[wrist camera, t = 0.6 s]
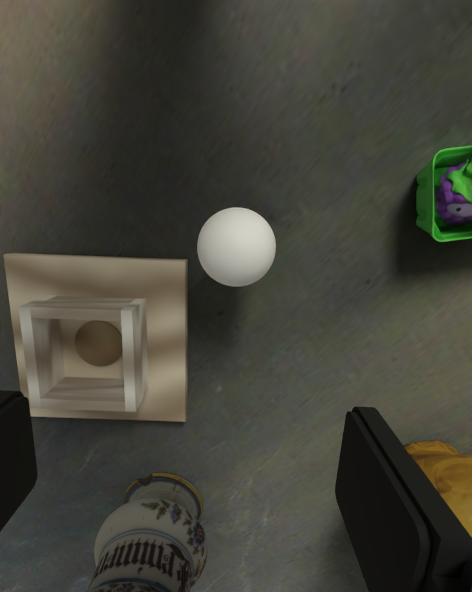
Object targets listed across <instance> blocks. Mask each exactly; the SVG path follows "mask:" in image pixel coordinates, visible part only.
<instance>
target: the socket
mask: <svg viewBox="0 0 472 592" xmlns="http://www.w3.org/2000/svg"><path fill="white" fill-rule="evenodd" d="M3 256H4V264H5V272H6V279H7V287H8V295H9V303H10V311H11V319H12V327H13V335H14V342H15V350H16V358H17V366H18V374H19V382H20V390H21V392H22V393H23V395H24V397H27V398H28V400H29V405H30V414H31V416H34V417H63V418H93V419H122V420H151V421H181V422H185V421H186V417H187V319H188V259H163V258H136V257H109V256H82V255H55V254H28V253H10V254H3Z"/></svg>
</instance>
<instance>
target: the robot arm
mask: <svg viewBox="0 0 472 592" xmlns="http://www.w3.org/2000/svg"><path fill="white" fill-rule="evenodd" d="M36 480H37V466H36V457H35V449H34V440H33V431H32V423H31V414H30V405H29V400H28V398H27V397H24V395H23V393H22V392H20V391H3V390H0V531H1V530H2V529H3V527H4V526H5V525H6V523H7V522H8V521H9V519H10V518H11V517H12V515H13V514H14V513H15V511H16V510H17V509H18V507H19V506H20V505H21V503H22V502H23V501H24V499H25V498H26V497H27V495H28V494H29V493H30V491H31V490H32V489H33V487H34V485H35V483H36ZM335 493H336V500H337V503H338V506H339V509H340V511H341V514H342V517H343V520H344V523H345V525H346V528H347V531H348V534H349V537H350V540H351V542H352V545H353V548H354V551H355V554H356V557H357V559H358V562H359V565H360V568H361V571H362V573H363V576H364V579H365V582H366V585H367V588H368V590H369V592H472V537H471V536H470V534H469V533H468V532H467V530H466V529H465V528H464V526H463V525H462V523H461V522H460V521H459V519H458V518H457V517H456V515H455V514H454V513H453V511H452V510H451V509H450V507H449V506H448V504H447V503H446V502H445V500H444V499H443V498H442V496H441V495H440V494H439V492H438V491H437V490H436V488H435V487H434V485H433V484H432V483H431V481H430V480H429V479H428V477H427V476H426V475H425V473H424V472H423V470H422V469H421V468H420V466H419V465H418V464H417V463H416V462H415V460H414V459H412V457H411V456H410V454H409V453H408V452H407V450H406V449H405V448H404V446H403V445H402V444H401V442H400V441H399V439H398V438H397V437H396V435H395V434H394V433H393V431H392V430H391V428H390V427H389V426H388V424H387V423H386V422H385V420H384V419H383V418H382V416H381V415H380V413H379V412H378V411H377V409H375V408H373V407H354V408H353V410H352V412H350V411H348V412H347V414H346V419H345V425H344V432H343V439H342V445H341V452H340V459H339V465H338V472H337V479H336V486H335Z"/></svg>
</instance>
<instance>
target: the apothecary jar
mask: <svg viewBox="0 0 472 592" xmlns="http://www.w3.org/2000/svg"><path fill="white" fill-rule="evenodd" d="M202 511H203V504H202V500H201V497H200V495H199V493H198V491H197V490H196V488H195V487H194V486H193V485H192V484H191V483H190V482H188V481H187V480H186V479H184V478H182V477H180V476H178V475H175V474H171V473H163V472H162V473H161V472H160V473H152V474H151V475H150V476H148V477H147V478H146V479H137V480H136V481H135V482H133V483H132V484H131V485H130V487H129V488H128V489H127V491H126V494H125V498H124V505H122V506H121V507H119V508H117V509H116V510H115V511H114V512H112V513H111V514H110V515H109V517H108V518H107V519H106V520H105V522H104V523H103V525H102V526H101V528H100V530H99V532H98V535H97V538H96V541H95V547H94V558H95V564H96V567H97V568H96V571H95V574H94V576H93V579H92V581H91V584H90V586H89V588H88V591H87V592H190V588H191V587H192V586H193V585H194V584H195V583H196V582H197V580H198V579H199V577H200V575H201V573H202V571H203V569H204V566H205V563H206V557H207V542H206V537H205V533H204V531H203V528H202V526H201V524H200V523H199V520H200V518H201V515H202Z"/></svg>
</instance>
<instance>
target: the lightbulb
mask: <svg viewBox="0 0 472 592" xmlns="http://www.w3.org/2000/svg"><path fill="white" fill-rule="evenodd" d="M197 252H198V257H199V260H200V263H201V265H202V267H203V269H204V270H205V271H206V273H207V274H208V275H209V276H210V277H211V278H213V279H214V280H216V281H217V282H219V283H221V284H224V285H227V286H232V287H241V286H246V285H249V284H252V283H254V282H256V281H257V280H259V279H261V278H262V277H263V276H264V275H265V274H266V273H267V271H268V270H269V268H270V267H271V265H272V263H273V261H274V257H275V253H276V243H275V237H274V234H273V231H272V229H271V227H270V226H269V224H268V223H267V222H266V220H265V219H264V218H263V217H262V216H260V215H259V214H257V213H256V212H254V211H252V210H249V209H245V208H237V207H233V208H228V209H224V210H221V211H219V212H217V213H216V214H214V215H213V216H211V217H210V218H209V219H208V220H207V221H206V223H205V224H204V226H203V227H202V229H201V231H200V234H199V237H198V242H197Z"/></svg>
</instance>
